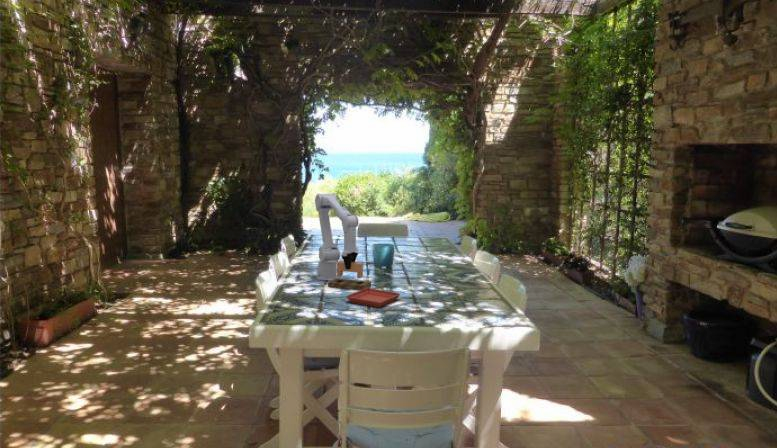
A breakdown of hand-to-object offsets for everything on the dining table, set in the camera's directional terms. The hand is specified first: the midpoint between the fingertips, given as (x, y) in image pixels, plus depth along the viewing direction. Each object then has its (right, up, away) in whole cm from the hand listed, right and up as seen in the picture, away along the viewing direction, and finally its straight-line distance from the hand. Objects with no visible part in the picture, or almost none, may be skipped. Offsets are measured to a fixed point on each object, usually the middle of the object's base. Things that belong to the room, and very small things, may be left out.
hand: (349, 268), depth 268 cm
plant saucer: (+12, -13, -22) cm, 29 cm away
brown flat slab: (0, -9, +1) cm, 9 cm away
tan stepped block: (0, -4, 0) cm, 4 cm away
